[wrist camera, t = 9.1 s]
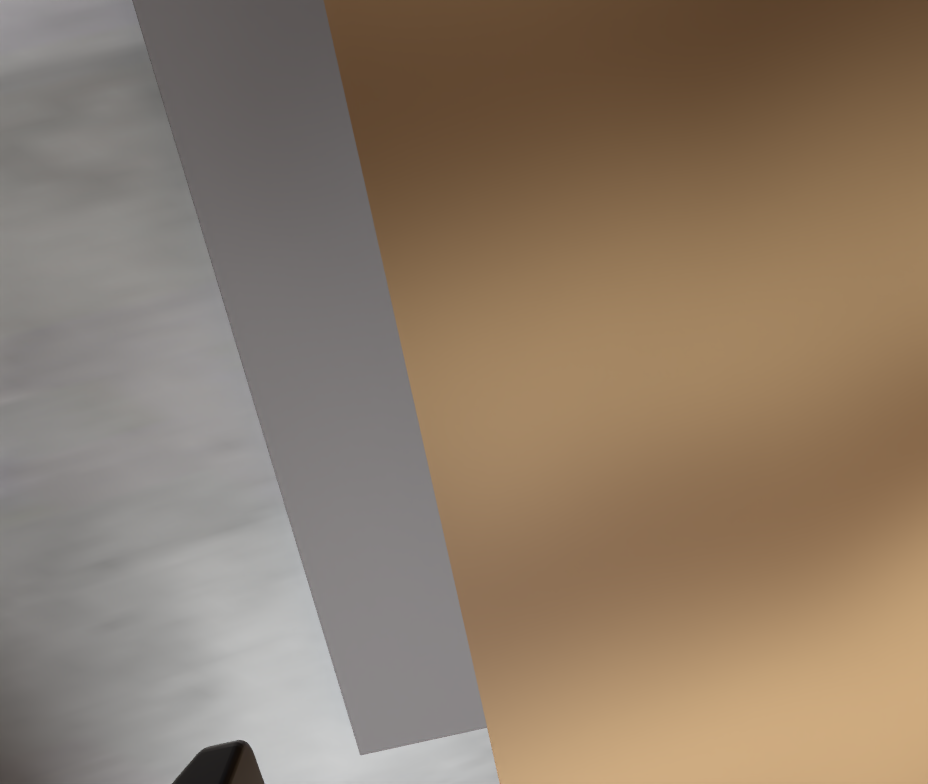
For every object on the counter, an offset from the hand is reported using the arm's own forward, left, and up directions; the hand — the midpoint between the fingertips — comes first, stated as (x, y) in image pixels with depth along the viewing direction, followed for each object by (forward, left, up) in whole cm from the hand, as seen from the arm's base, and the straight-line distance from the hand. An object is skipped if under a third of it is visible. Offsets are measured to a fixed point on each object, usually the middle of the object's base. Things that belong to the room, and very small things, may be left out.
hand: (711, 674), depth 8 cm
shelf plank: (0, -1, -7) cm, 7 cm away
